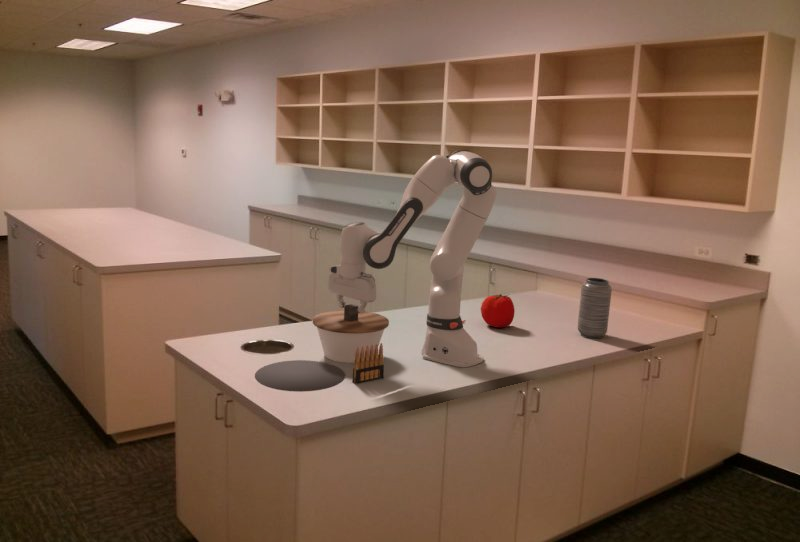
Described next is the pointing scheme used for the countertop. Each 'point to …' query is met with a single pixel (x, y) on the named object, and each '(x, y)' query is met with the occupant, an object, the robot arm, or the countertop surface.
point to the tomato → (498, 310)
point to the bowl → (347, 344)
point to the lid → (350, 321)
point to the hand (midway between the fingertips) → (351, 310)
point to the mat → (299, 375)
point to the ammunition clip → (368, 365)
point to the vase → (594, 307)
